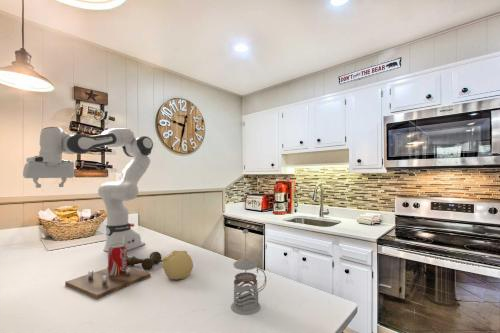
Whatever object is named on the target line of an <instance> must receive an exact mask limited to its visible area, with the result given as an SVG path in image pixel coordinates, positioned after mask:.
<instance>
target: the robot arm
mask: <svg viewBox="0 0 500 333" xmlns="http://www.w3.org/2000/svg"><path fill="white" fill-rule="evenodd" d="M39 136H40V137H39V146H40V147H39V148H40V150H39V152H38V153H39V154H38V155H35V156H31V157H30V156H29V157H27V158H25V159H26V163H25V164H24V165H23V171H22V172H23V173H22V175H23V176H22V177H23V178H24V179H32V182H33V183H34V184H35V188H36V189H41V188H42V184H41V183H39V179H60V180H61V182H60V183H58V187H59V188H63V187H65V186H64V185H65V183H66V181H67V179H68V178H69V179H70V178H71V179H72V178H74V177H75V163H74V161H72V160H71V159H69V160H67V159H63V154H66V155H75V154H76V155H77V154H86V153H88V152H90V151H92V150H93V149H95V148H99V147H107V148H118V147H121V148H122V150H123V153H124V154H125V155H126V157H129V158H132V159H131V160H130V162H129V163H128V164H127V165H126V166H125V168H123V170H122V172H121V177H122V178H121V180H119V181H107V182H105V183H104V182H103V183H102V184H100V186H99V187H98V190H97V193H98V196H99V197H100V199H101V200H102V201H103V203H104V206H105V208H106V209H105V210H106V225H105V234H106V236H105V243H104V247H103V250H102V251H104V252H108V250H109V249H110V246H111V245H113V244H119V243H123V244H125V246H126V248H127V251H130V250H133V249H135V248H138V247H141V246H143V245H145V244H146V242H145V241H143V240H141V238H142V237H141V235H140V233H138V232H137V231H135V230H133V228H134V227H135V223H133V222H132V223H130V222H129V209H128V208H127V207H126V206H125V204H124V201H125V202H128V201H133V200H135V199H137V197H138V194H139V187H138V183H139V181H140V180H141V178H142V177H143V175H144V174H145V173H146V171H147V170H148V169H149V166H150V164H151V158H150V157H149V156H150V155H151V153H152V150H153V148H154V142H153V140H152V139H151V138H150V137H149V136H145V135H143V136H139V137H137V138H136V137H135V133H134V132H133V130H132V129H130V128H123V127H121V128H110V129H106V130H104V131H102V132H101V134H97V135H89V134H83V133H75V134H70V133H68V132H66V131H64V130H63V129H62V128H61V127H58V126H49V127H44V128H42V129H41V130H40V135H39Z"/></svg>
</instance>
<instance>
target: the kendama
mask: <svg viewBox="0 0 500 333" xmlns="http://www.w3.org/2000/svg"><path fill="white" fill-rule="evenodd" d="M162 259H163V258H162V254H161V252H158V251H152V252H151V253H150V254H149V257H148V258H138V257H136V256H132V257H130V256H128V255H127V267H129V266H131V267H133V266H135V265H140V264H141V268H142V269H143V270H144V271H151V270H152V269H153V268H154V265H157V264H158V265H159V263H163V262H162Z"/></svg>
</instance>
